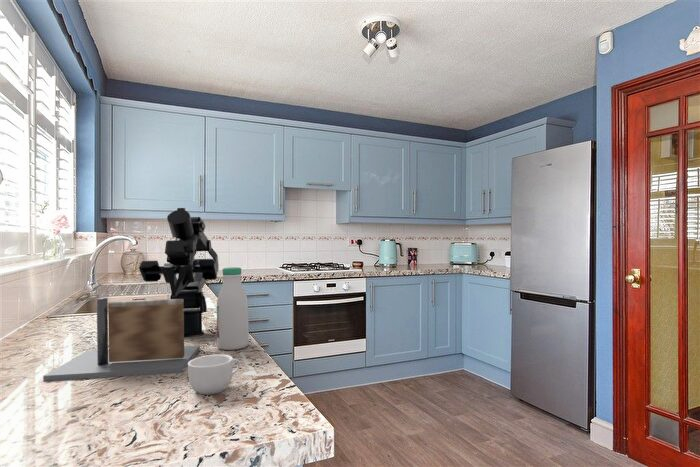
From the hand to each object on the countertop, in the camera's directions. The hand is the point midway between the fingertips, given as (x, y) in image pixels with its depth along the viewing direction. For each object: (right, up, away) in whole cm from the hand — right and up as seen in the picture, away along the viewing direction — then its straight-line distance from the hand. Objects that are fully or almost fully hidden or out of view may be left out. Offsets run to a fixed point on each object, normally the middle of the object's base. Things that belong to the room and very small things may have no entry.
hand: (173, 295), depth 105 cm
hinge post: (-9, -12, -15) cm, 22 cm away
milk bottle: (+15, -13, +1) cm, 20 cm away
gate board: (-5, -13, -12) cm, 18 cm away
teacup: (+20, -13, -28) cm, 37 cm away
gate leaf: (0, -12, -14) cm, 18 cm away
